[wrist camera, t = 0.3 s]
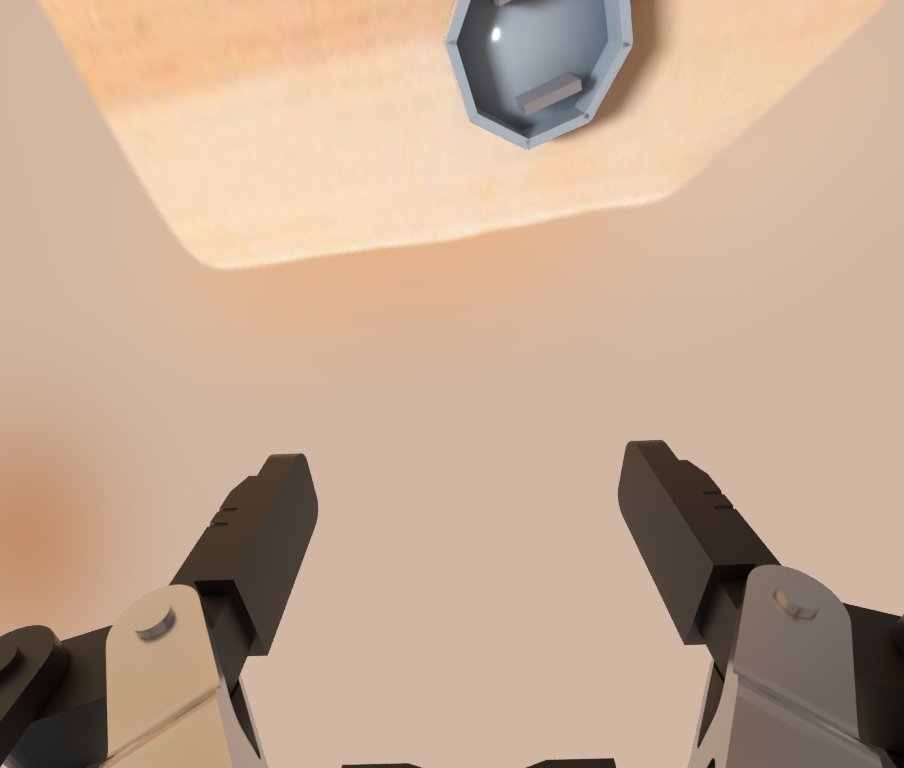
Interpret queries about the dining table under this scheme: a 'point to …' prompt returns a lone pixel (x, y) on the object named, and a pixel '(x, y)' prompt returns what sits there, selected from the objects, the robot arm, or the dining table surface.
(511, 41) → the blue-grey octagonal holder
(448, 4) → the dining table surface
